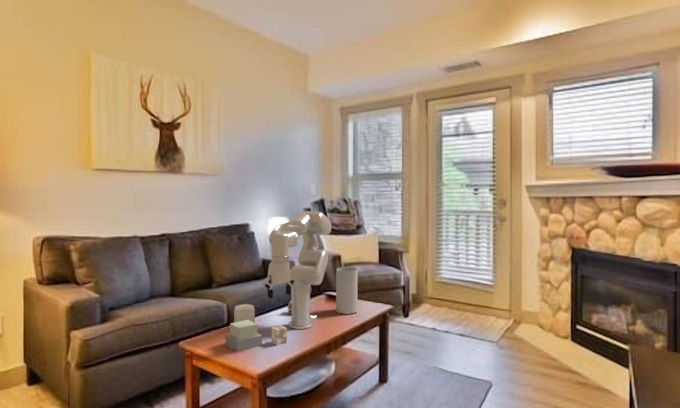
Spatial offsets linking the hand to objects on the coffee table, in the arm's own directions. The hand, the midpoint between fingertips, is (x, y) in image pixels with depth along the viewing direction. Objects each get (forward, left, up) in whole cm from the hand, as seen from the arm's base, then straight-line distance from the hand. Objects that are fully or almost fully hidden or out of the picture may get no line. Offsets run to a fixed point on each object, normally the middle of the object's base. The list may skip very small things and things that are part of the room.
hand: (279, 296), depth 193 cm
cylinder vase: (-58, -18, -22) cm, 65 cm away
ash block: (0, 0, -22) cm, 22 cm away
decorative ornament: (-32, -34, -22) cm, 52 cm away
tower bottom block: (+14, -8, -22) cm, 27 cm away
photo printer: (+3, -28, -22) cm, 36 cm away
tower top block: (+14, -8, -17) cm, 24 cm away
